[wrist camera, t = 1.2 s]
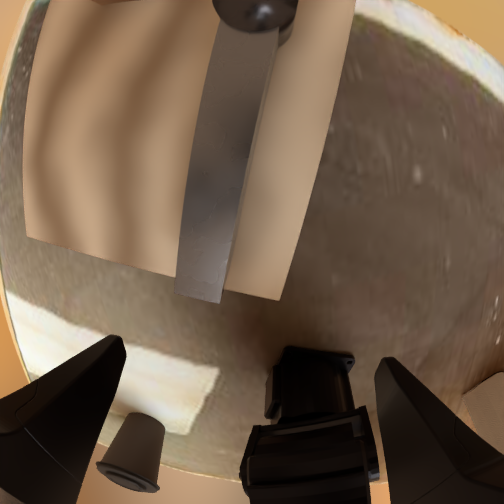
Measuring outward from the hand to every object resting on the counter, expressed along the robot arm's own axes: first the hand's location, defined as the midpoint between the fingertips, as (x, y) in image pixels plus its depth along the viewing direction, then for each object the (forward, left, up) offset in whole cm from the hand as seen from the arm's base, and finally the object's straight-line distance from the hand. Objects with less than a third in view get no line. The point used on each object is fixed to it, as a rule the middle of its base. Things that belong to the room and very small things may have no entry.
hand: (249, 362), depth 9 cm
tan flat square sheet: (+9, -7, -11) cm, 16 cm away
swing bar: (+3, -6, -10) cm, 12 cm away
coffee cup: (+9, +29, -12) cm, 33 cm away
